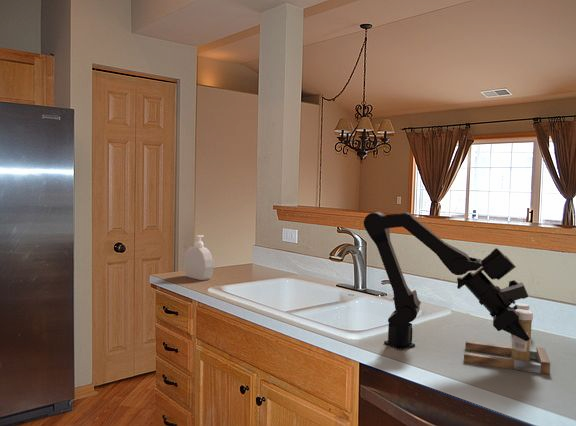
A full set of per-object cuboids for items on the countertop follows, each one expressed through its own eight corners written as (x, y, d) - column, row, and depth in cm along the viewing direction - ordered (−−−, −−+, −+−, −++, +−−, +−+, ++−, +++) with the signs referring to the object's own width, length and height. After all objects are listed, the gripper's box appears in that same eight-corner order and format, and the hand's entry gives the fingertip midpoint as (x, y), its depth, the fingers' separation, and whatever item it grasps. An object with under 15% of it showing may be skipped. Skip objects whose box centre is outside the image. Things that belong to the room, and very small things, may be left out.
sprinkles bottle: (533, 362, 128) (536, 312, 127) (523, 365, 125) (526, 314, 124) (516, 356, 131) (520, 307, 130) (506, 359, 129) (510, 309, 128)
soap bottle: (214, 279, 225) (214, 236, 223) (205, 281, 221) (205, 237, 219) (192, 274, 235) (193, 233, 234) (183, 276, 231) (184, 234, 230)
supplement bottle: (507, 332, 154) (508, 302, 153) (520, 331, 156) (521, 301, 155) (520, 338, 149) (522, 307, 148) (534, 336, 151) (535, 306, 150)
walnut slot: (463, 361, 128) (464, 350, 128) (465, 347, 139) (466, 337, 139) (549, 374, 120) (550, 362, 120) (544, 358, 131) (544, 347, 131)
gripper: (511, 278, 119) (558, 329, 116) (508, 266, 137) (549, 310, 133) (474, 305, 123) (520, 355, 120) (476, 290, 140) (515, 334, 137)
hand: (527, 337), depth 127 cm, fingers closed on sprinkles bottle, 4 cm apart
